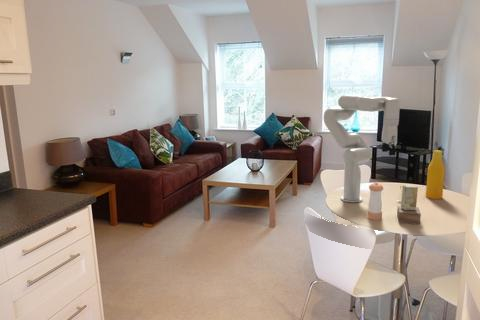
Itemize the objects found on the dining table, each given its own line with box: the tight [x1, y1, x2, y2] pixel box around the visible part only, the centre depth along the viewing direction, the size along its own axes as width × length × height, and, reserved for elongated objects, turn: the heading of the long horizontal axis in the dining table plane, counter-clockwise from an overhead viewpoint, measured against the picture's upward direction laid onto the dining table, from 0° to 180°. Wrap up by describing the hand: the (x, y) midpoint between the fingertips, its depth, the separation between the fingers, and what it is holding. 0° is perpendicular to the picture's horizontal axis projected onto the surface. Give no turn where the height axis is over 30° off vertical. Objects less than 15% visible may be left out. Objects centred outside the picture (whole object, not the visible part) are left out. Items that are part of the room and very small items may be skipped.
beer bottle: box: [425, 149, 446, 200], centre depth 234 cm, size 9×9×29 cm
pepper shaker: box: [366, 181, 384, 221], centre depth 204 cm, size 7×7×19 cm
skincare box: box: [400, 184, 419, 210], centre depth 199 cm, size 6×4×12 cm
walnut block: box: [396, 205, 422, 225], centre depth 200 cm, size 10×10×6 cm
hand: (388, 153), depth 208 cm, fingers open, 9 cm apart
